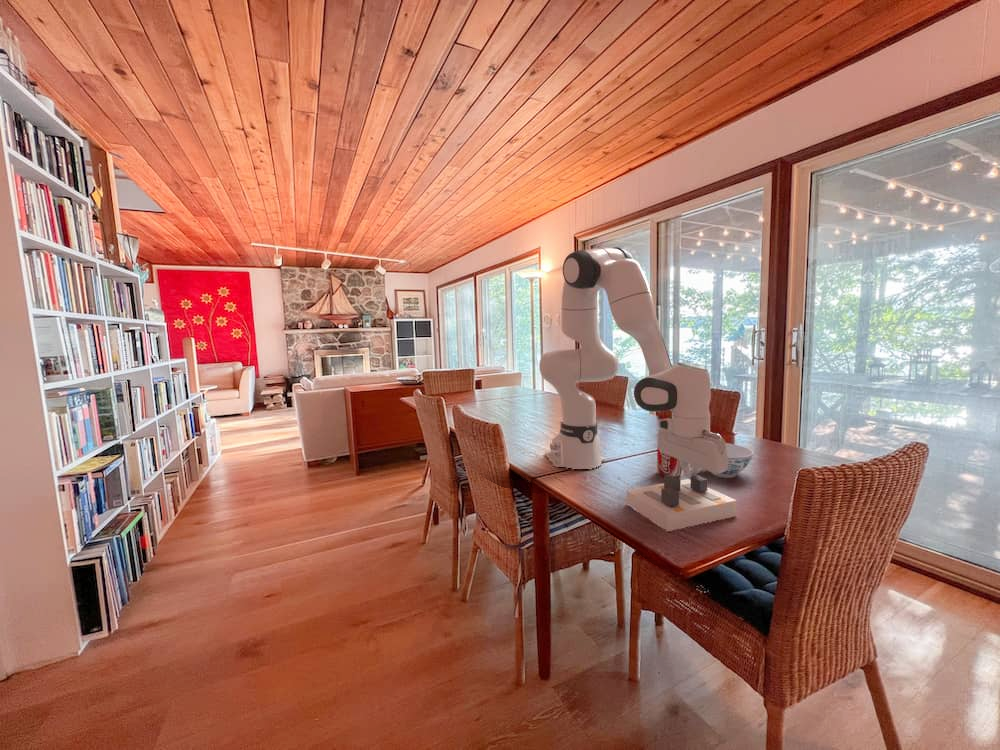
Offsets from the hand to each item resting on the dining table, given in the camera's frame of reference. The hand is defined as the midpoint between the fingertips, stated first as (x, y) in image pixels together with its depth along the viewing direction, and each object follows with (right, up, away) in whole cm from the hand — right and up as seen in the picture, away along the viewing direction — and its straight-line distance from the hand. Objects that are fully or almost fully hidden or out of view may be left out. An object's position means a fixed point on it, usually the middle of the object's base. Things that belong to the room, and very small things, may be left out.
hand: (689, 478), depth 103 cm
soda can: (+3, -4, +20) cm, 21 cm away
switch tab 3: (+1, -2, -3) cm, 3 cm away
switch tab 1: (-5, -2, -2) cm, 6 cm away
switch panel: (-4, -7, -4) cm, 9 cm away
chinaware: (+19, -4, +19) cm, 28 cm away
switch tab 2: (-9, -3, -10) cm, 14 cm away
